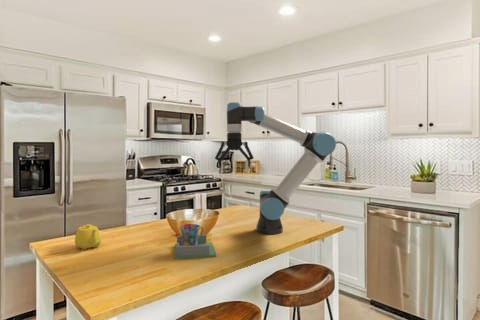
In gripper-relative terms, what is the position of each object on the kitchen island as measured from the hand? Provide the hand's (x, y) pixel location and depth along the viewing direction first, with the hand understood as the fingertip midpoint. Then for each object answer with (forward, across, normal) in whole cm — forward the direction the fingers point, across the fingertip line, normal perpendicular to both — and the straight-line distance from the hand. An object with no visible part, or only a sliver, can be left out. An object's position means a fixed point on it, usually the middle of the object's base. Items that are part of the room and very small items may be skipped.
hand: (234, 172), depth 170 cm
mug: (+33, +24, +18) cm, 45 cm away
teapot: (+33, +71, +4) cm, 79 cm away
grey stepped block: (+34, +23, +18) cm, 45 cm away
